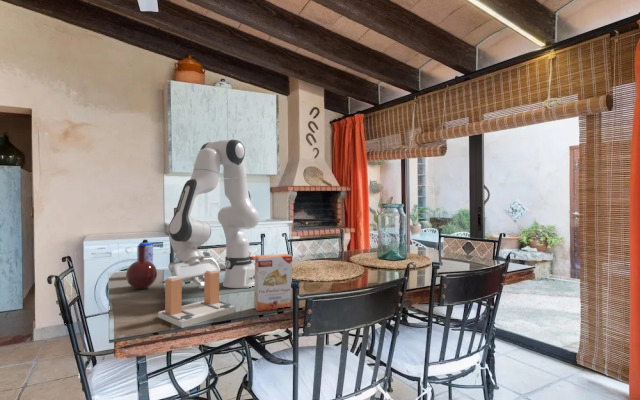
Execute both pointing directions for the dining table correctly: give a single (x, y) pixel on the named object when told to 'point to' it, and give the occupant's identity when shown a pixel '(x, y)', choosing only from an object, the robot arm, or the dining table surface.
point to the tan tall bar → (211, 286)
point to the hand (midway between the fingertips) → (203, 287)
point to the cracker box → (272, 281)
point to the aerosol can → (146, 251)
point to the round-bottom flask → (141, 272)
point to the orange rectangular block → (173, 295)
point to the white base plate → (197, 313)
